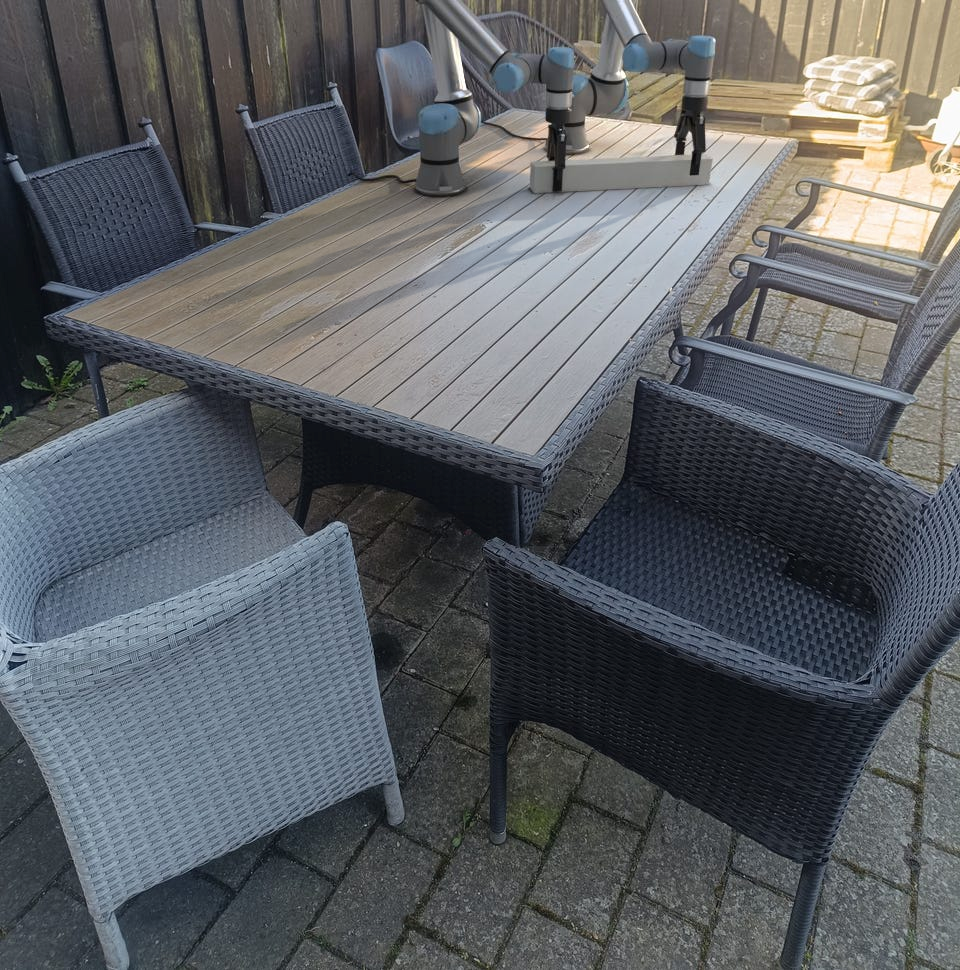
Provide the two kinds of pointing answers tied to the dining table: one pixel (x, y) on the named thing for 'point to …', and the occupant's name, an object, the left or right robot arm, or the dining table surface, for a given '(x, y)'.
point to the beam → (620, 173)
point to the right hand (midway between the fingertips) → (686, 169)
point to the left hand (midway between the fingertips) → (554, 187)
